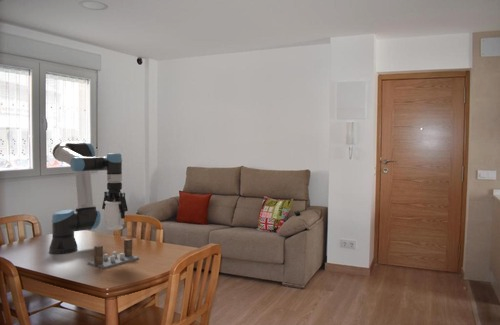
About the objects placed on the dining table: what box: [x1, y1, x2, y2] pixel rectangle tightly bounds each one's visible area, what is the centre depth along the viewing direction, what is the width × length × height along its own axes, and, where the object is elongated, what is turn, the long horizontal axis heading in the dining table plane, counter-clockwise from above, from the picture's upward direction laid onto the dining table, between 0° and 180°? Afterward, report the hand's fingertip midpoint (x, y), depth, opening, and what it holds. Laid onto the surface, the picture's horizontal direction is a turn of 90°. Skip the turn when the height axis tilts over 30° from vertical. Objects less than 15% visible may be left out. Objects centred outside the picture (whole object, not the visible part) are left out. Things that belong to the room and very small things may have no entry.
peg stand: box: [87, 251, 140, 270], centre depth 221 cm, size 14×22×4 cm, turn 146°
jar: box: [104, 200, 124, 231], centre depth 222 cm, size 11×10×15 cm
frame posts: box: [93, 238, 133, 268], centre depth 221 cm, size 3×22×10 cm, turn 146°
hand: (114, 223), depth 222 cm, fingers closed on jar, 10 cm apart
